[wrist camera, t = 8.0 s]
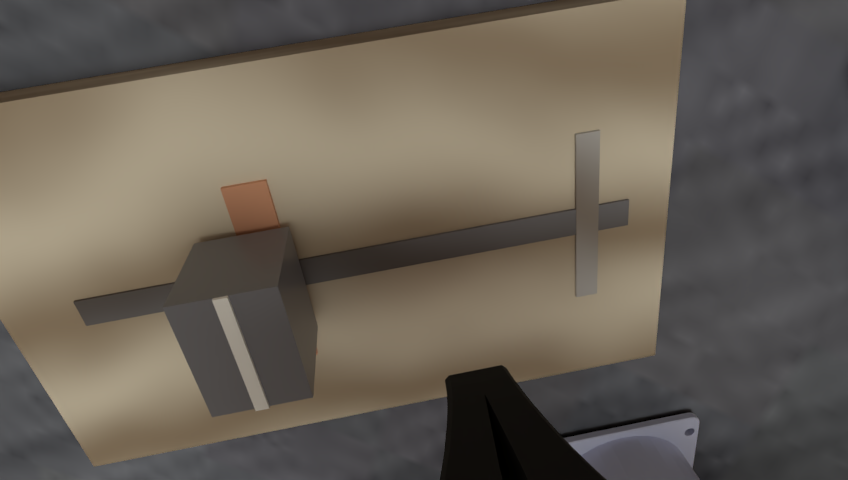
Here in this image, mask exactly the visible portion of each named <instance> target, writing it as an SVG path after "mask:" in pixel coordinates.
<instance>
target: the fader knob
mask: <svg viewBox="0 0 848 480" xmlns="http://www.w3.org/2000/svg"><path fill="white" fill-rule="evenodd" d="M163 310H164V312H165V315H166V317H167V319H168V321H169V323H170V326H171V328H172V330H173V332H174V334H175V337H176V339H177V341H178V343H179V345H180V348H181V350H182V352H183V354H184V357H185V359H186V361H187V363H188V365H189V368H190V370H191V372H192V374H193V376H194V379H195V381H196V383H197V385H198V387H199V390H200V392H201V394H202V396H203V399H204V401H205V403H206V405H207V407H208V410H209V412H210V414H211V416H212V417H217V416H222V415H227V414H232V413H237V412H242V411H247V410H252V409H255V411H259V410H264V409H269V407H270V406H272V405H278V404H283V403H288V402H293V401H298V400H303V399H308V398H313V395H314V379H315V363H316V347H317V331H318V325H317V321H316V318H315V315H314V311H313V308H312V304H311V301H310V297H309V294H308V290H307V287H306V283H305V280H304V277H303V273H302V270H301V266H300V263H299V259H298V256H297V252H296V249H295V245H294V242H293V239H292V235H291V232H290V228H289V226H288V227H283V228H277V229H272V230H266V231H261V232H255V233H250V234H244V235H238V236H233V237H227V238H222V239H216V240H211V241H205V242H200V243H194V245H193V247H192V249H191V251H190V253H189V255H188V257H187V259H186V261H185V263H184V265H183V267H182V269H181V271H180V273H179V275H178V277H177V279H176V281H175V283H174V285H173V287H172V289H171V291H170V293H169V295H168V297H167V299H166V301H165V304H164V306H163Z"/></svg>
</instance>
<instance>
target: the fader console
mask: <svg viewBox="0 0 848 480" xmlns="http://www.w3.org/2000/svg"><path fill="white" fill-rule="evenodd" d="M685 7H686V0H557V1H551V2H545V3H539V4H533V5H527V6H521V7H515V8H508V9H502V10H496V11H490V12H484V13H478V14H472V15H466V16H460V17H454V18H448V19H442V20H436V21H430V22H424V23H417V24H411V25H405V26H399V27H393V28H387V29H381V30H375V31H369V32H363V33H357V34H351V35H345V36H339V37H333V38H326V39H320V40H314V41H308V42H302V43H296V44H290V45H284V46H278V47H272V48H266V49H260V50H254V51H248V52H241V53H235V54H229V55H223V56H217V57H211V58H205V59H199V60H193V61H187V62H181V63H175V64H169V65H163V66H157V67H150V68H144V69H138V70H132V71H126V72H120V73H114V74H108V75H102V76H96V77H90V78H84V79H78V80H72V81H66V82H59V83H53V84H47V85H41V86H35V87H29V88H23V89H17V90H11V91H5V92H0V319H1V321H2V323H3V324H4V326H5V327H6V329H7V330H8V332H9V334H10V335H11V337H12V338H13V340H14V341H15V343H16V345H17V346H18V348H19V349H20V351H21V352H22V354H23V356H24V357H25V359H26V360H27V362H28V363H29V365H30V367H31V368H32V370H33V371H34V373H35V374H36V376H37V378H38V379H39V381H40V382H41V384H42V385H43V387H44V389H45V390H46V392H47V393H48V395H49V396H50V398H51V400H52V401H53V403H54V404H55V406H56V407H57V409H58V411H59V412H60V414H61V415H62V417H63V418H64V420H65V422H66V423H67V425H68V426H69V428H70V429H71V431H72V433H73V434H74V436H75V437H76V439H77V440H78V442H79V444H80V445H81V447H82V448H83V450H84V451H85V453H86V455H87V456H88V458H89V459H90V461H91V462H92V464H93V466H99V465H104V464H109V463H114V462H120V461H125V460H130V459H135V458H140V457H145V456H150V455H155V454H160V453H165V452H170V451H175V450H180V449H185V448H190V447H195V446H200V445H205V444H210V443H215V442H220V441H225V440H230V439H235V438H240V437H245V436H250V435H255V434H260V433H265V432H270V431H275V430H281V429H286V428H291V427H296V426H301V425H306V424H311V423H316V422H321V421H326V420H331V419H336V418H341V417H346V416H351V415H356V414H361V413H366V412H371V411H376V410H381V409H386V408H391V407H396V406H401V405H406V404H411V403H416V402H421V401H426V400H431V399H436V398H442V397H447V391H446V384H445V379H446V378H447V377H448V376H449V375H453V374H458V373H464V372H469V371H474V370H479V369H484V368H489V367H494V366H499V365H502V366H504V367H506V368H507V370H508V371H509V373H510V374H511V376H512V377H513V378H514V380H515V381H516V383H517V382H522V381H527V380H532V379H537V378H542V377H547V376H552V375H557V374H562V373H567V372H572V371H577V370H582V369H587V368H592V367H598V366H603V365H608V364H613V363H618V362H623V361H628V360H633V359H638V358H643V357H648V356H653V355H655V350H656V338H657V327H658V316H659V304H660V293H661V281H662V270H663V258H664V247H665V236H666V224H667V213H668V201H669V190H670V179H671V167H672V156H673V144H674V133H675V121H676V110H677V99H678V87H679V76H680V64H681V53H682V42H683V30H684V19H685ZM288 226H289V228H290V232H291V235H292V239H293V242H294V245H295V249H296V252H297V256H298V259H299V263H300V266H301V270H302V273H303V277H304V280H305V283H306V287H307V290H308V294H309V297H310V301H311V304H312V308H313V311H314V315H315V318H316V321H317V325H318V331H317V347H316V363H315V379H314V395H313V398H308V399H303V400H298V401H293V402H288V403H283V404H278V405H272V406H270V407H269V409H264V410H259V411H255V409H252V410H247V411H242V412H237V413H232V414H227V415H222V416H217V417H212V416H211V414H210V412H209V410H208V407H207V405H206V403H205V401H204V399H203V396H202V394H201V392H200V390H199V387H198V385H197V383H196V381H195V379H194V376H193V374H192V372H191V370H190V368H189V365H188V363H187V361H186V359H185V357H184V354H183V352H182V350H181V348H180V345H179V343H178V341H177V339H176V337H175V334H174V332H173V330H172V328H171V326H170V323H169V321H168V319H167V317H166V315H165V312H164V310H163V306H164V304H165V301H166V299H167V297H168V295H169V293H170V291H171V289H172V287H173V285H174V283H175V281H176V279H177V277H178V275H179V273H180V271H181V269H182V267H183V265H184V263H185V261H186V259H187V257H188V255H189V253H190V251H191V249H192V247H193V245H194V243H200V242H205V241H211V240H216V239H222V238H227V237H233V236H238V235H244V234H250V233H255V232H261V231H266V230H272V229H277V228H283V227H288Z"/></svg>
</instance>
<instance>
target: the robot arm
mask: <svg viewBox="0 0 848 480" xmlns="http://www.w3.org/2000/svg"><path fill="white" fill-rule="evenodd" d="M445 384H446V391H447V400H448V415H447V431H446V442H445V452H444V459H443V465H442V471H441V477H440V480H700V479H699V478H698V476H697V475H696V473H695V472H694V470H693V463H694V456H695V449H696V443H697V436H698V429H699V423H700V422H699V419H698V418H697V416H696V415H695V414H694V413H683V414H678V415H673V416H668V417H664V418H659V419H654V420H649V421H644V422H639V423H634V424H629V425H625V426H620V427H615V428H610V429H605V430H600V431H595V432H590V433H585V434H581V435H576V436H571V437H566V438H563V437H562V436H561V435H560V434H559V433H558V432H557V431H556V429H555V428H554V427H553V426H552V425H551V424H550V423H549V422H548V421H547V420H546V418H545V417H544V416H543V415H542V414H541V413H540V412H539V410H538V409H537V408H536V407H535V406H534V404H533V403H532V402H531V401H530V399H529V398H528V397H527V396H526V395H525V393H524V392H523V391H522V389H521V388H520V387H519V385H518V384H517V383H516V381H515V380H514V378H513V377H512V376H511V374H510V373H509V371H508V370H507V368H506V367H504V366H502V365H499V366H494V367H489V368H484V369H479V370H474V371H469V372H464V373H458V374H453V375H449V376H448V377H447V378H446V379H445Z"/></svg>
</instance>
